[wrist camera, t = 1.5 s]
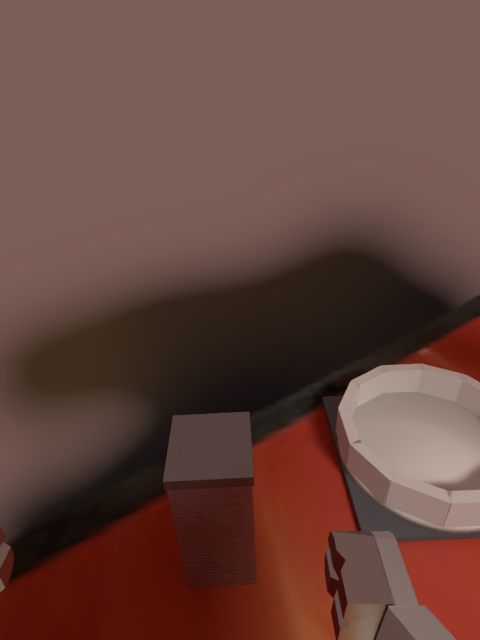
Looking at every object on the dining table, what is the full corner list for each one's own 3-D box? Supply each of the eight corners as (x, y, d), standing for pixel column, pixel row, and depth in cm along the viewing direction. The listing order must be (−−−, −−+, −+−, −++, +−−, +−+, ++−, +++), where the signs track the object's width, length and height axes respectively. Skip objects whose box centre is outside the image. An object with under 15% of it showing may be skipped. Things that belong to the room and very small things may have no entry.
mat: (465, 393, 45) (467, 389, 45) (567, 532, 32) (570, 528, 32) (322, 400, 45) (322, 396, 45) (363, 543, 32) (364, 539, 32)
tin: (253, 517, 34) (249, 411, 28) (258, 584, 30) (253, 477, 23) (191, 521, 34) (172, 415, 28) (186, 588, 30) (162, 481, 23)
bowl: (467, 389, 45) (476, 360, 43) (570, 528, 32) (591, 496, 29) (322, 396, 45) (325, 368, 43) (364, 539, 32) (370, 507, 29)
